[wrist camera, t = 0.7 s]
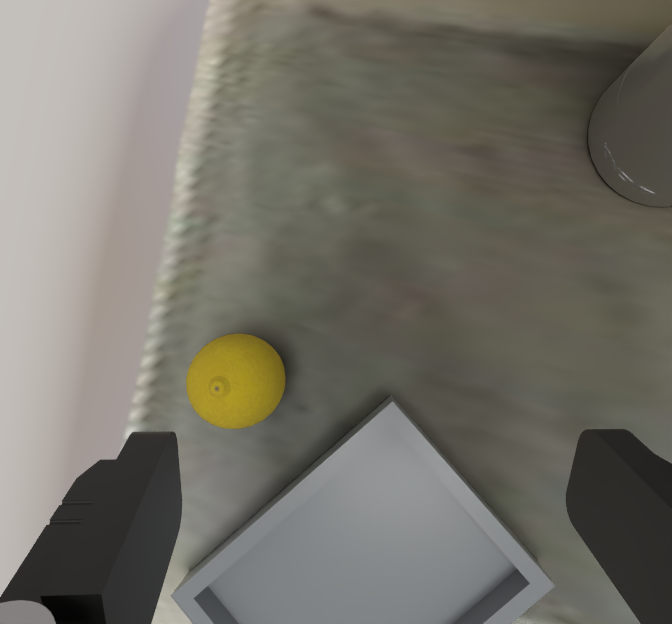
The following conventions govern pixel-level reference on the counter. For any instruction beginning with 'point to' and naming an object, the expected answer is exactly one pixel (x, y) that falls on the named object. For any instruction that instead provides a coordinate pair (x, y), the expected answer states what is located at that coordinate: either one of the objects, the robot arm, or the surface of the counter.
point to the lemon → (235, 381)
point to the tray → (369, 544)
